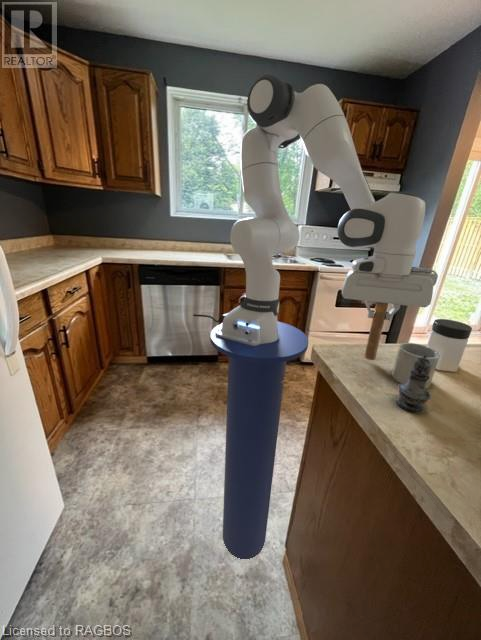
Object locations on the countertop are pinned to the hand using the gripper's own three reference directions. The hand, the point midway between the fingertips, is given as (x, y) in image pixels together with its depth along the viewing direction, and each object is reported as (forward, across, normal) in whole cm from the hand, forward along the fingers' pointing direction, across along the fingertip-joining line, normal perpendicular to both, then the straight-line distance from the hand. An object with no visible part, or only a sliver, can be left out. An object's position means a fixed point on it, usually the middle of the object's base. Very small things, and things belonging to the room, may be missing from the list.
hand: (378, 318), depth 71 cm
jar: (+13, -19, -6) cm, 24 cm away
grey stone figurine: (+13, -6, +18) cm, 23 cm away
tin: (+13, -9, +6) cm, 17 cm away
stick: (+12, 0, 0) cm, 12 cm away
